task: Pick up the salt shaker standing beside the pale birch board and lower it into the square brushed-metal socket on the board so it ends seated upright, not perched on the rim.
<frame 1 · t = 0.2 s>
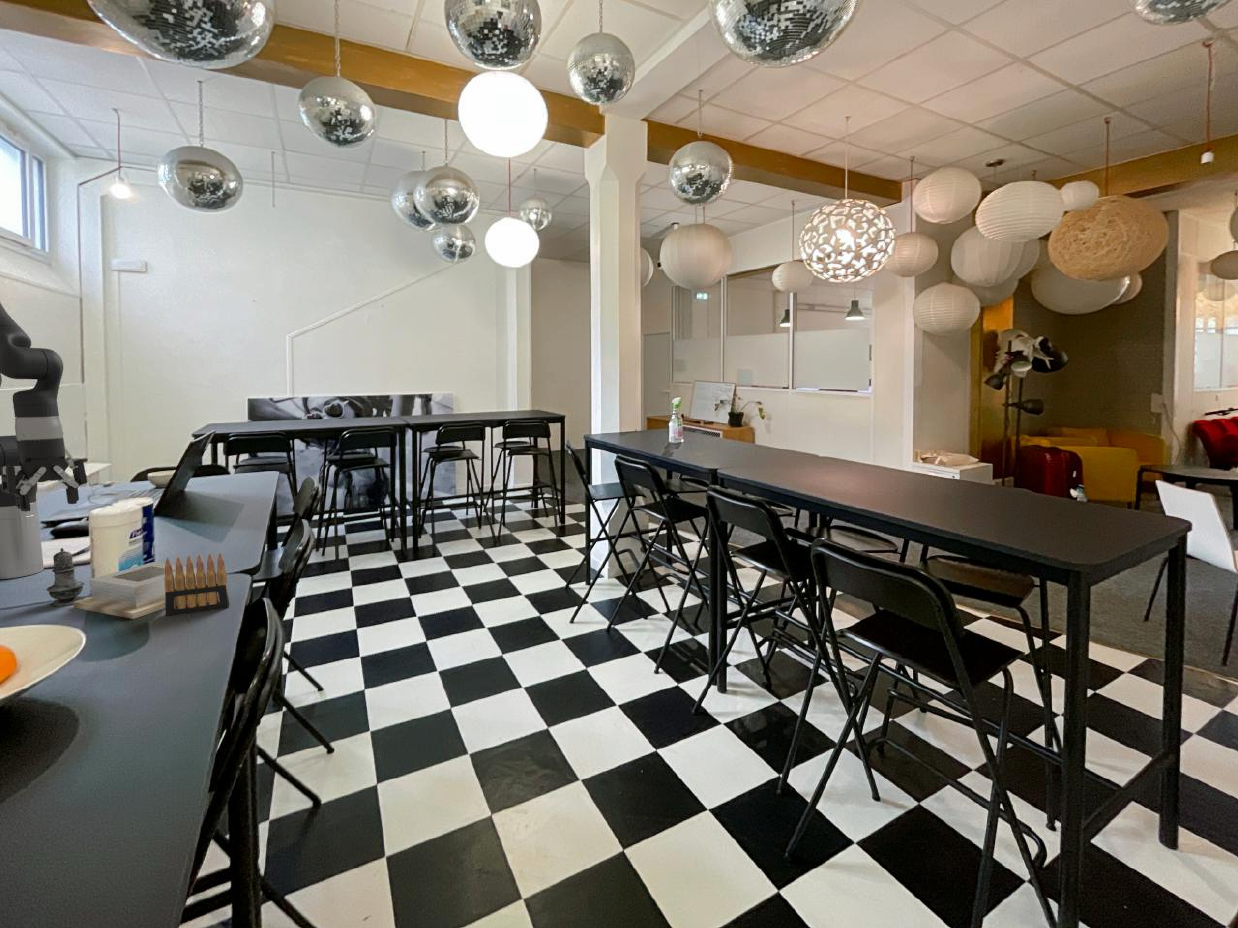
hand: (49, 507, 131), 18 cm above the table, tool pointing down, fingers open, 8 cm apart
ammunition clip: (198, 611, 120), on the table
base board: (147, 598, 125), on the table
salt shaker: (67, 603, 122), on the table
square socket: (145, 583, 125), on the base board, point 4 cm above the table
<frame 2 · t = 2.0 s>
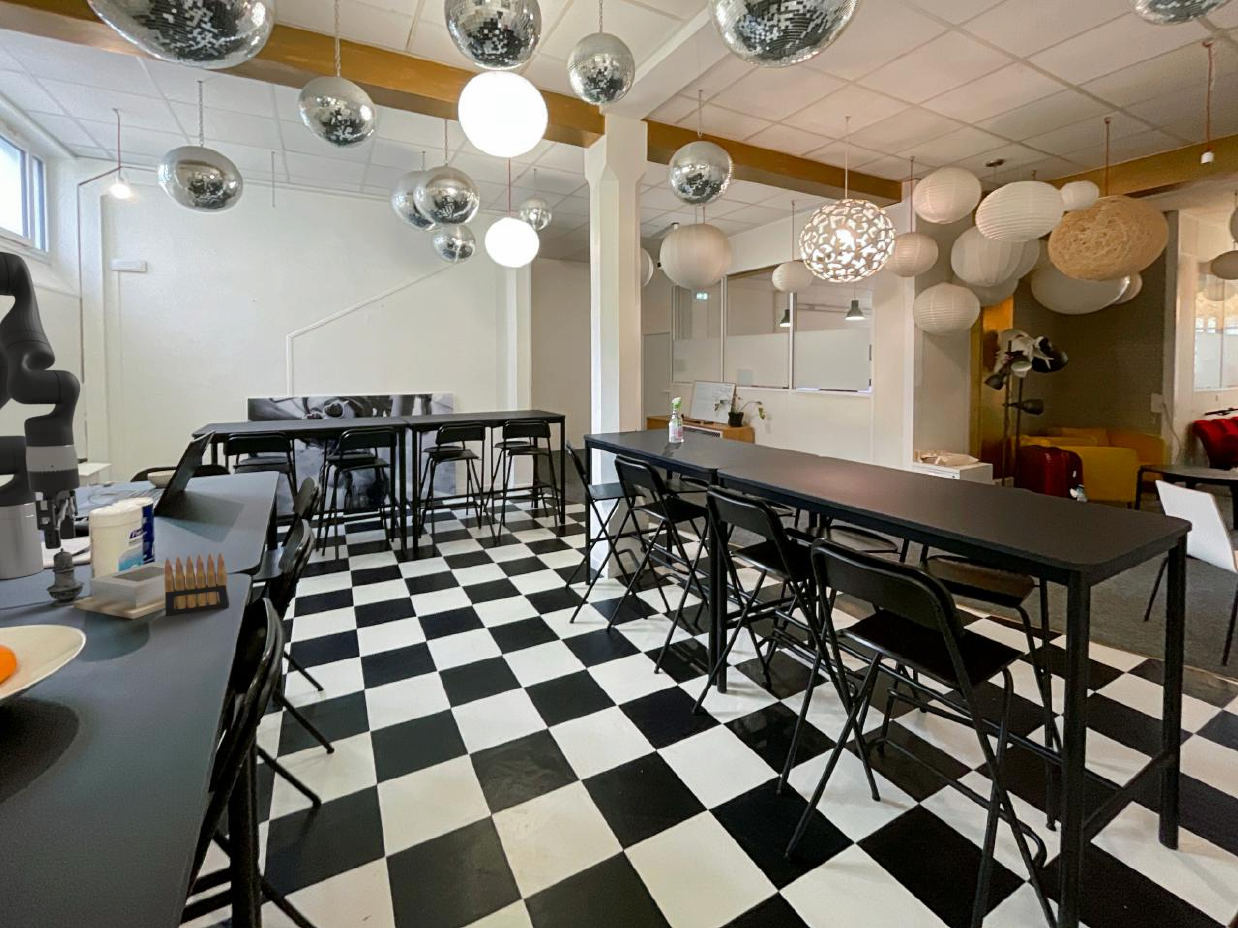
hand: (61, 543, 120), 13 cm above the table, tool pointing down, fingers open, 8 cm apart
nothing on the table moved.
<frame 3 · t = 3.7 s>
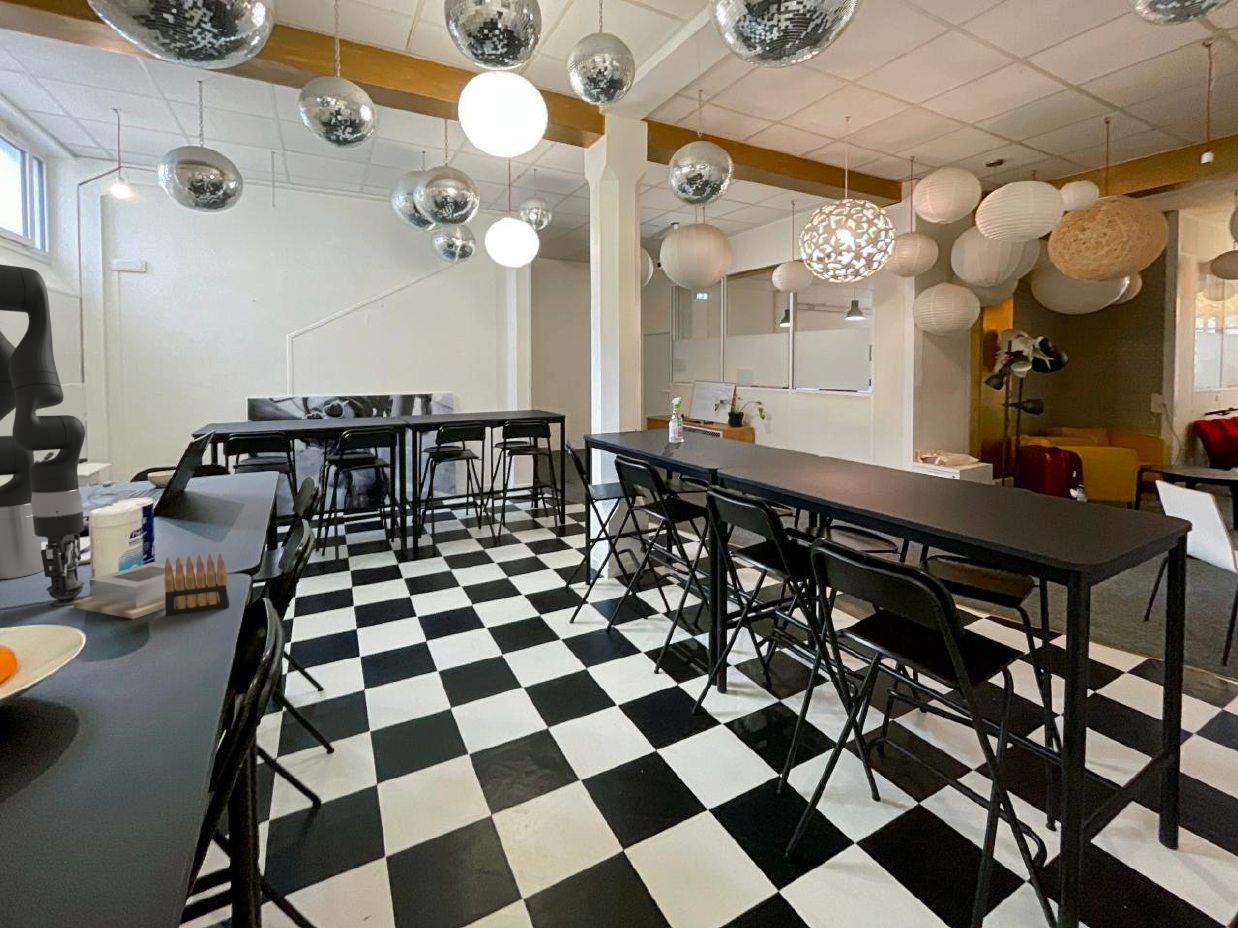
hand: (65, 588, 122), 3 cm above the table, tool pointing down, fingers closed on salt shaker, 6 cm apart
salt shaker: (67, 603, 122), on the table, touching gripper
everything else where it was.
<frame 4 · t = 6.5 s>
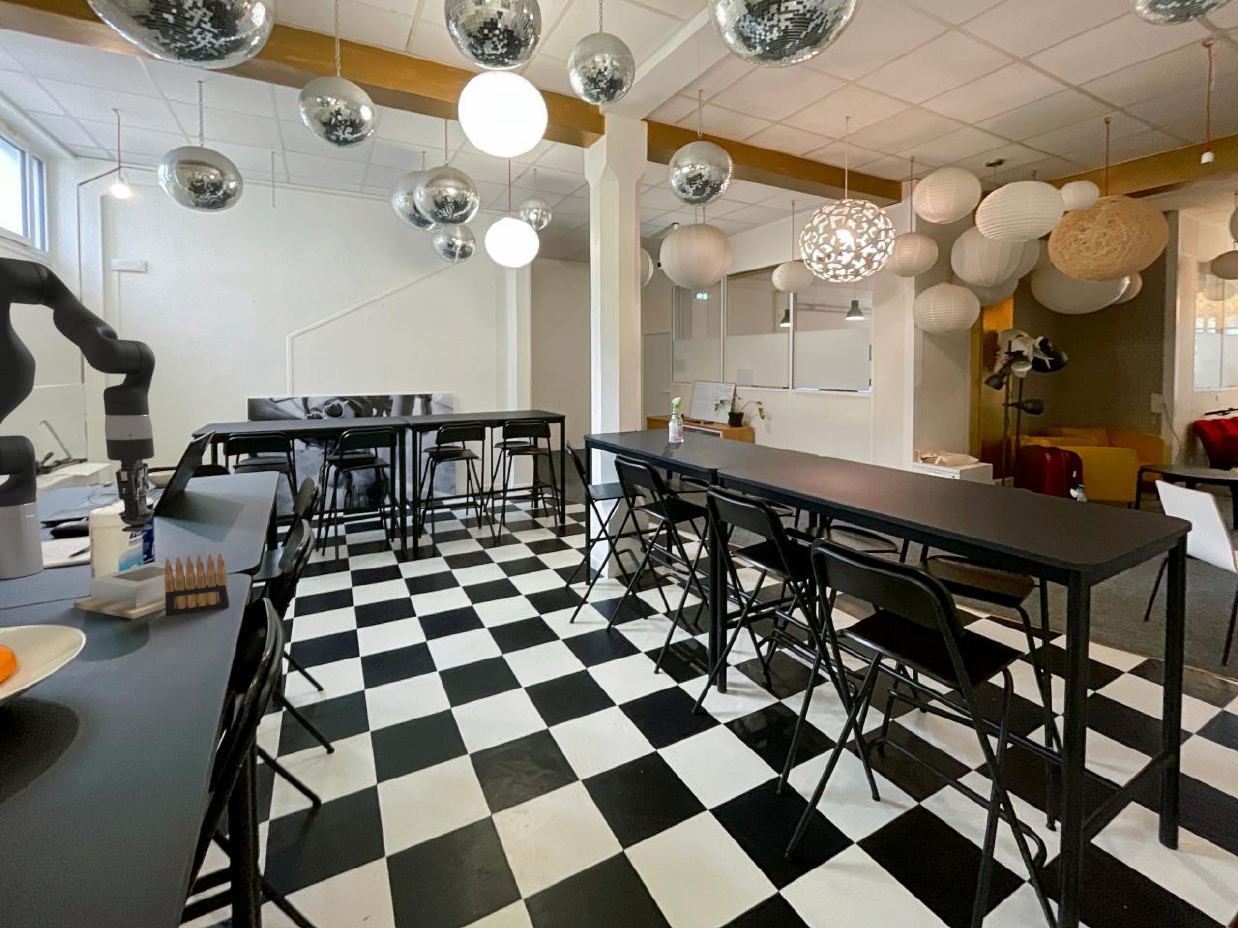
hand: (136, 514, 122), 19 cm above the table, tool pointing down, fingers closed on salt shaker, 6 cm apart
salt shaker: (138, 529, 123), point 16 cm above the table, touching gripper
everything else where it was.
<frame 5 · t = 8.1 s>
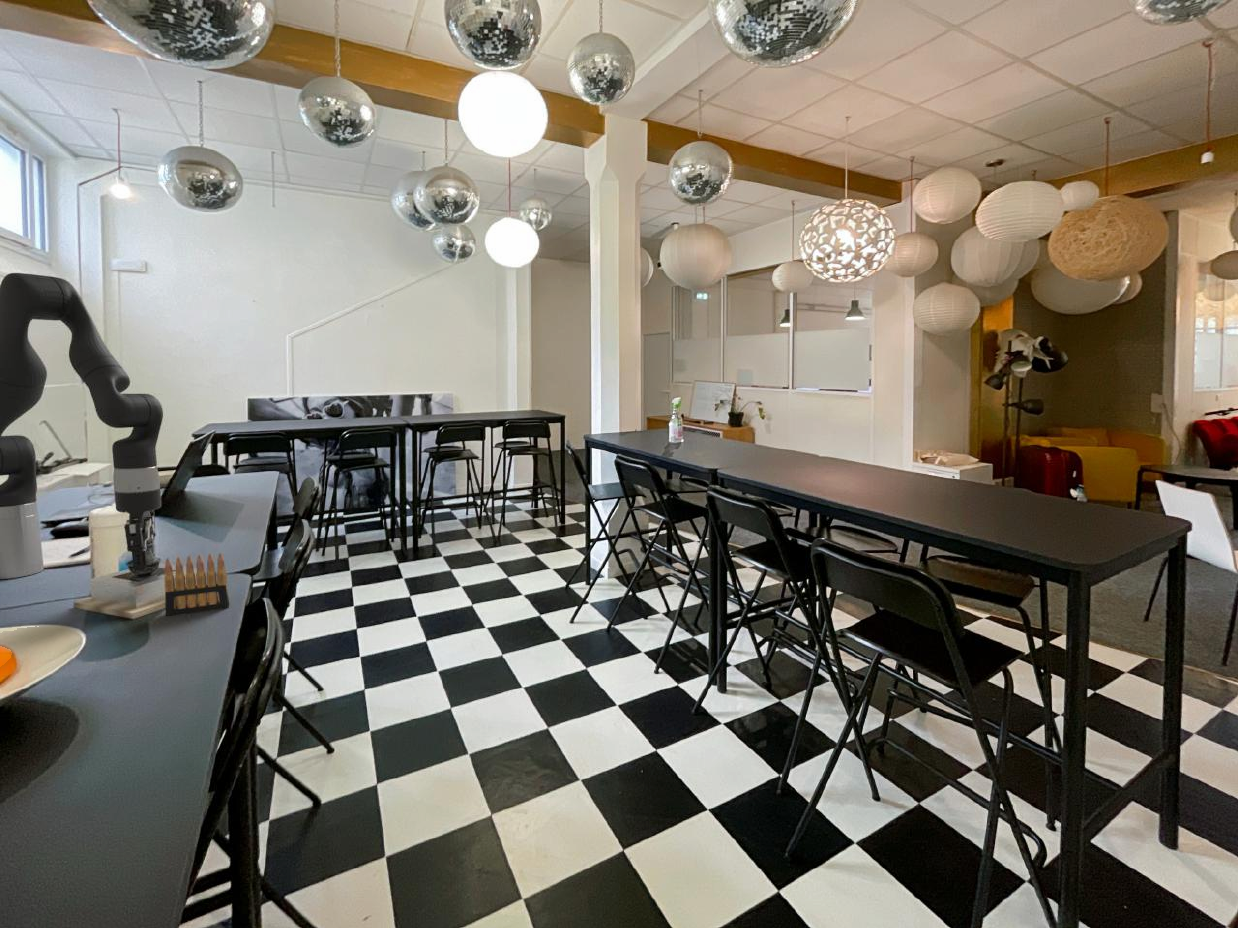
hand: (143, 563, 124), 8 cm above the table, tool pointing down, fingers closed on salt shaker, 6 cm apart
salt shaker: (145, 578, 125), point 5 cm above the table, touching gripper
everything else where it was.
when the fingers open (6 cm above the table, at t = 9.3 s): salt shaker drops 2 cm, resting on base board.
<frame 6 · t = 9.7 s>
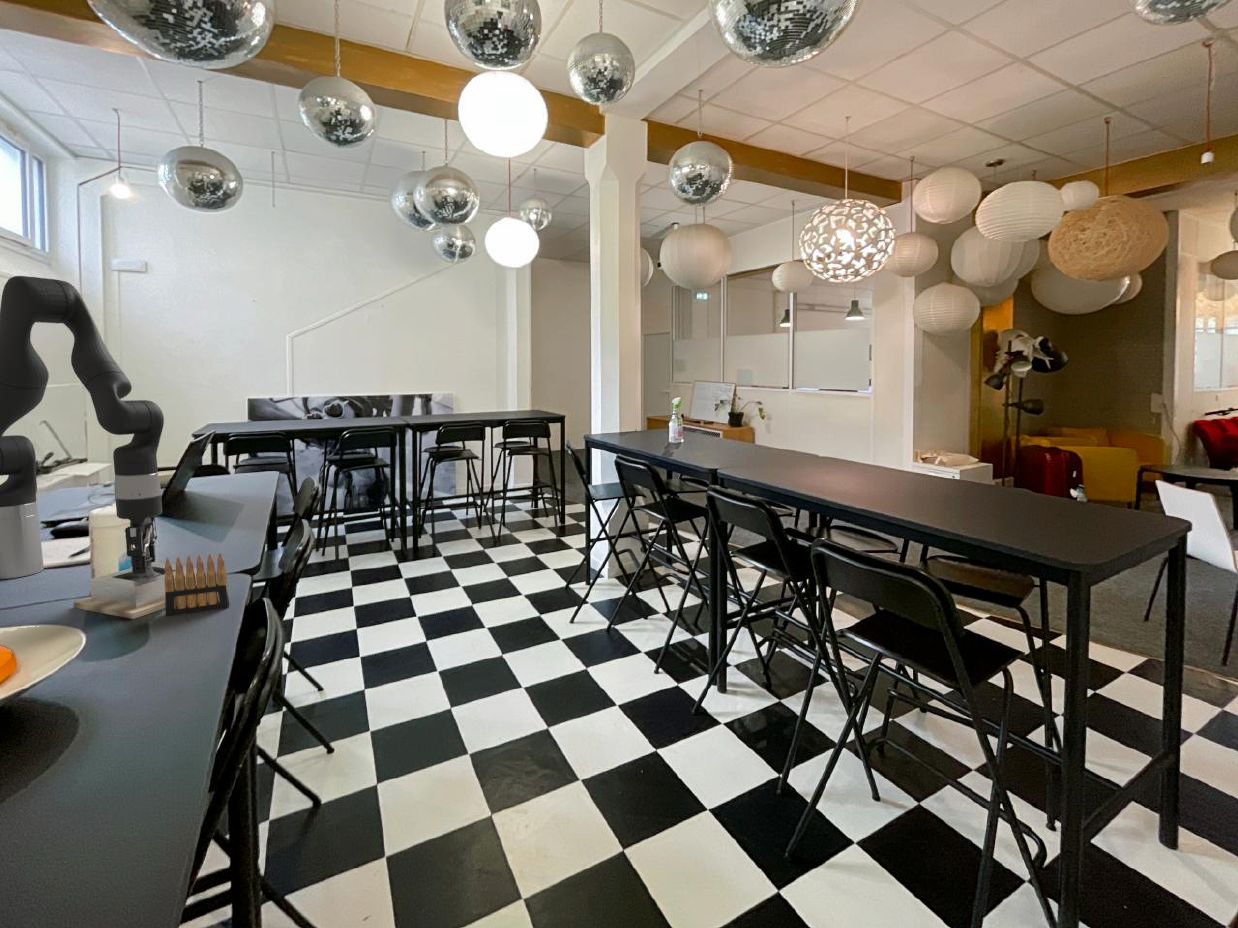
hand: (144, 567, 124), 7 cm above the table, tool pointing down, fingers open, 8 cm apart
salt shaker: (146, 593, 125), point 1 cm above the table, touching base board
everything else where it was.
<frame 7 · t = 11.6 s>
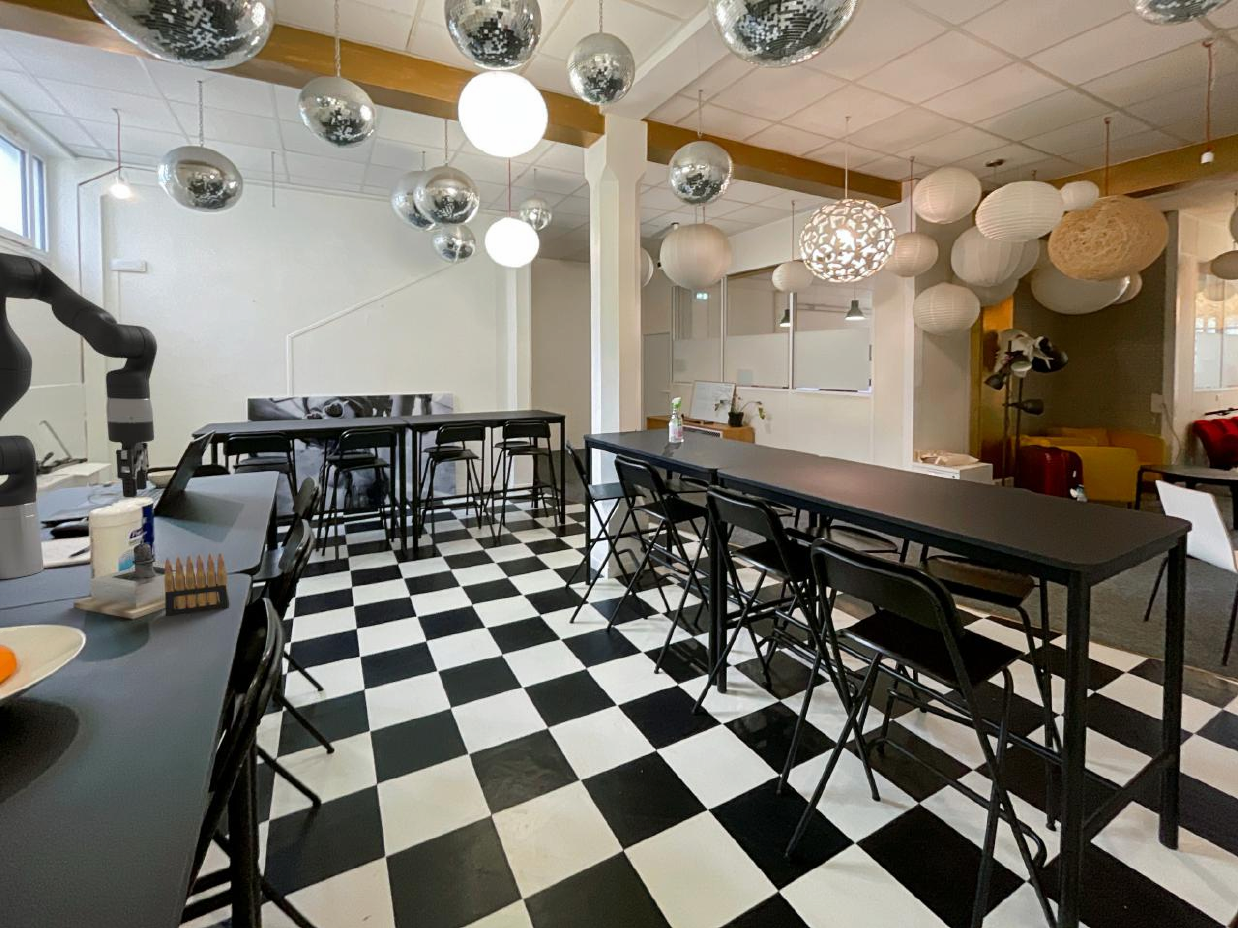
hand: (135, 493, 125), 23 cm above the table, tool pointing down, fingers open, 8 cm apart
nothing on the table moved.
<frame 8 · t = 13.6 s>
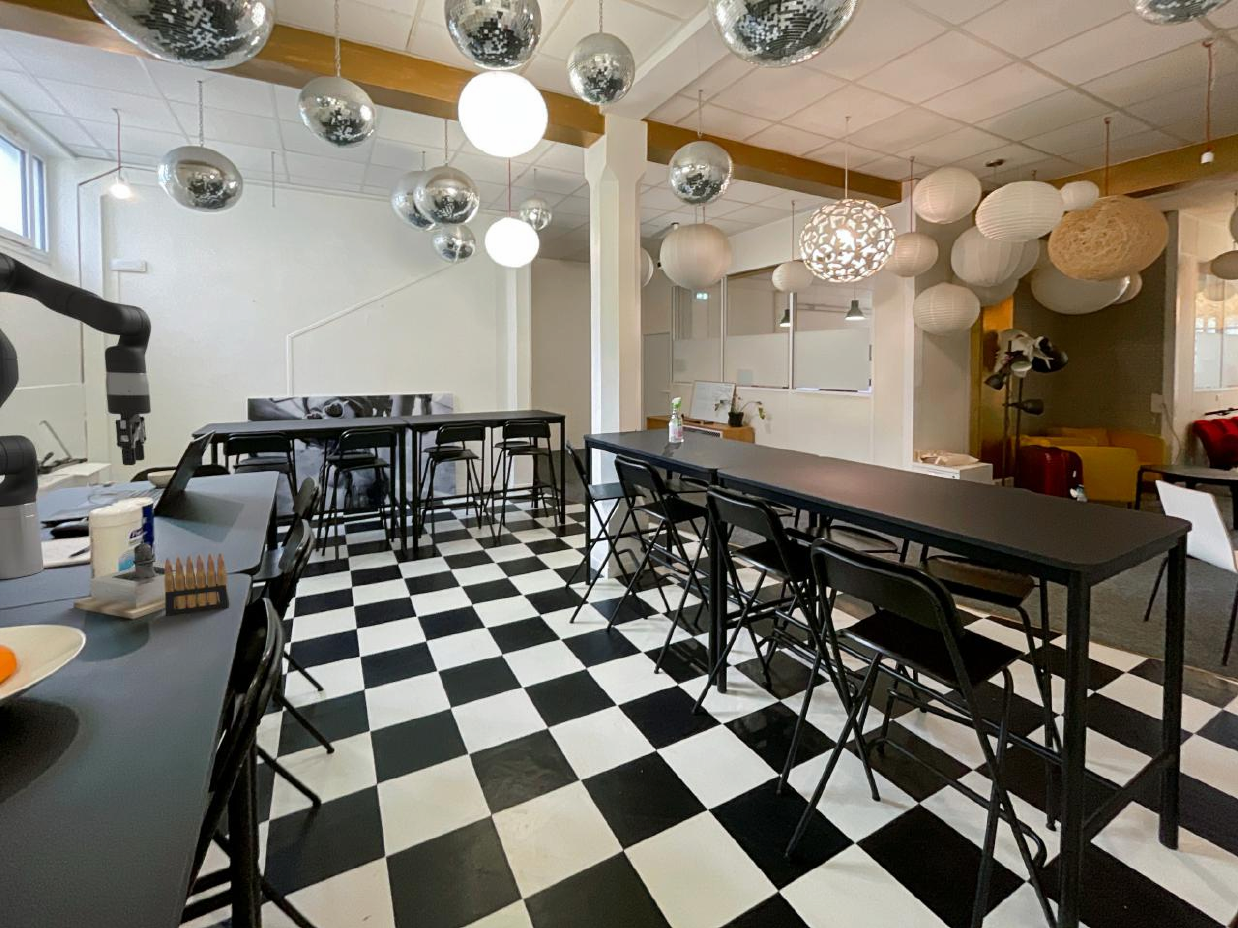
hand: (134, 462, 134), 28 cm above the table, tool pointing down, fingers open, 8 cm apart
nothing on the table moved.
at the end: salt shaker 0.2 cm off-centre on the square socket, point 1.0 cm above the square socket's base; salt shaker tilted 0°; the gripper is holding nothing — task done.
